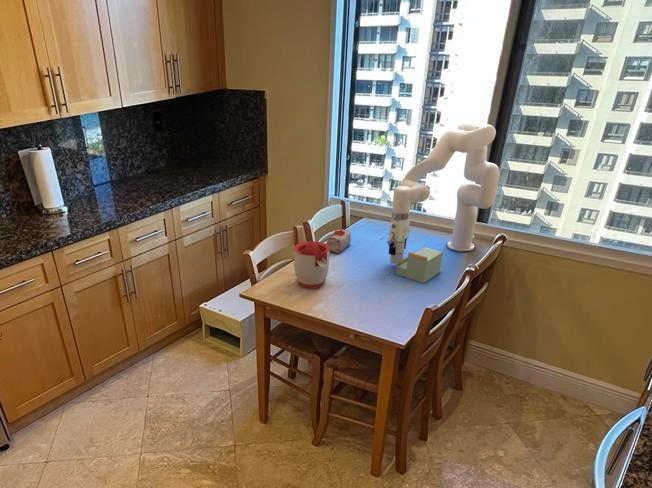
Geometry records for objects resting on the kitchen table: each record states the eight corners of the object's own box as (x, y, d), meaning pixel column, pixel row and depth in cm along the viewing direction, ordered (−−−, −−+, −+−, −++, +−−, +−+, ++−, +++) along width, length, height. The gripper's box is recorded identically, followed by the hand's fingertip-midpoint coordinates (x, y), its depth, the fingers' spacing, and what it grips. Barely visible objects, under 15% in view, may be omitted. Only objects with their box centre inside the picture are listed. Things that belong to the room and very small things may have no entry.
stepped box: (411, 264, 241) (415, 240, 234) (439, 272, 232) (443, 247, 226) (395, 274, 233) (398, 249, 226) (423, 282, 224) (427, 257, 218)
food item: (339, 255, 254) (340, 236, 248) (325, 252, 258) (325, 233, 252) (351, 245, 263) (352, 227, 258) (337, 243, 267) (338, 225, 262)
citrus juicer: (308, 295, 219) (309, 252, 208) (287, 280, 232) (286, 239, 222) (338, 286, 225) (340, 244, 214) (315, 272, 238) (316, 231, 227)
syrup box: (403, 263, 236) (406, 234, 228) (389, 263, 237) (392, 234, 229) (402, 258, 241) (405, 229, 233) (389, 258, 242) (391, 229, 234)
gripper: (397, 222, 220) (393, 259, 229) (418, 211, 229) (414, 247, 239) (382, 218, 224) (379, 255, 234) (403, 207, 234) (400, 243, 243)
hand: (397, 251), depth 236 cm, fingers closed on syrup box, 7 cm apart
